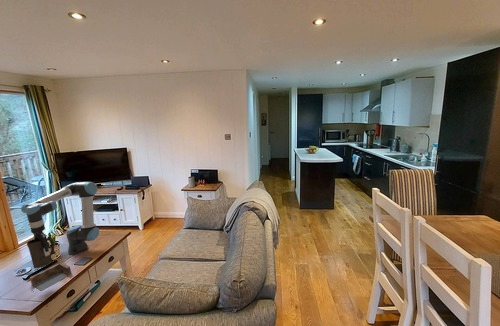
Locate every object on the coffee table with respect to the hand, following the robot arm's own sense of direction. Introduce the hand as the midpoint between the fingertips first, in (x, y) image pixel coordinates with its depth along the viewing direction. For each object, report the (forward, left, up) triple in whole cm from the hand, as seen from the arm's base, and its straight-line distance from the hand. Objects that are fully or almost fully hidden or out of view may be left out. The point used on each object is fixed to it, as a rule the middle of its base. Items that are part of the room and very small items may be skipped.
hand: (44, 253), depth 172 cm
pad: (0, 0, -23) cm, 23 cm away
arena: (-1, -2, -23) cm, 23 cm away
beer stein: (0, 0, -7) cm, 7 cm away
